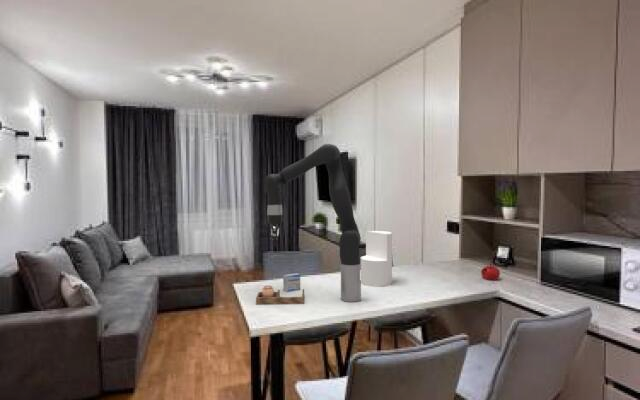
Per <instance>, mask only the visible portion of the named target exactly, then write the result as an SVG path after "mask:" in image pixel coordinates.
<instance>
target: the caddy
mask: <svg viewBox="0 0 640 400" xmlns="http://www.w3.org/2000/svg"><path fill="white" fill-rule="evenodd" d="M280 291H281V290H280V289H277V291H273V297H263V295H262V291H259V292H257V295H256V297H255V305H256V306H258V305H259V306H261V305H265V306H266V305H268V306H269V305H304V304H305V288H302V294H301V295H302V296H281V293H280Z"/></svg>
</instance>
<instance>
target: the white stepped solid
mask: <svg viewBox="0 0 640 400" xmlns="http://www.w3.org/2000/svg"><path fill="white" fill-rule="evenodd" d="M365 232H366V233H365V255H363V256H360V280H361V285H363V286H367V287H375V288H376V287H378V288H379V287H380V288H381V287H387V286H391V285H393V232H391V231H386V230H366V231H365Z"/></svg>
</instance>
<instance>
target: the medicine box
mask: <svg viewBox="0 0 640 400" xmlns="http://www.w3.org/2000/svg"><path fill="white" fill-rule="evenodd" d="M282 278H283V280H282V281H283V284H282V285H283V288H282V289H283V291H284V292H285V293H289V292H290V293H291V292H296V291H300V290H301V274H300V273H297V272H296V273H289V274H283V277H282Z"/></svg>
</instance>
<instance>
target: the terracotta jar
mask: <svg viewBox="0 0 640 400" xmlns="http://www.w3.org/2000/svg"><path fill="white" fill-rule="evenodd" d="M261 292H262V295H263V297H273V292H274V287H273V286H272V285H264V286H263V287H262V291H261Z"/></svg>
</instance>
